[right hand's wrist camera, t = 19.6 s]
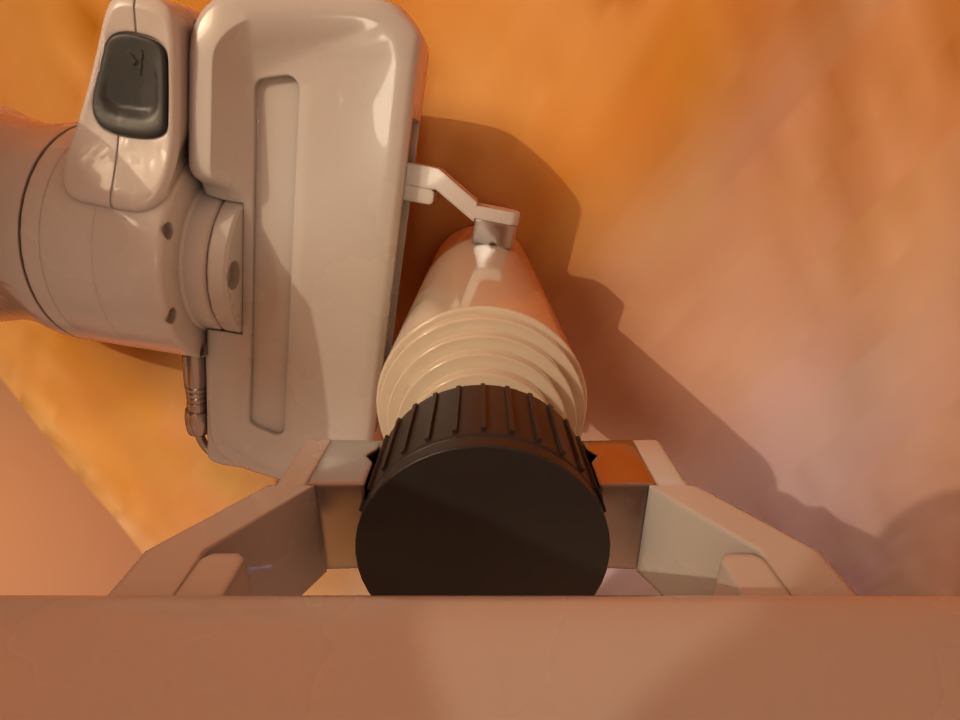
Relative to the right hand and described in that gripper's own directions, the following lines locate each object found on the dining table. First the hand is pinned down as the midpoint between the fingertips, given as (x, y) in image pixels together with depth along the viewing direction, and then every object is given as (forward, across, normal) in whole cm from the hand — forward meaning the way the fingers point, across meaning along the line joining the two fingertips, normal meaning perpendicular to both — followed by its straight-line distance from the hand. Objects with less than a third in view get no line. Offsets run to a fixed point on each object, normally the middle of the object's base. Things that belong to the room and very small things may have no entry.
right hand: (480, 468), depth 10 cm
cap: (-2, 0, 0) cm, 2 cm away
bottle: (+19, 0, 0) cm, 19 cm away
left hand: (+13, -1, 0) cm, 13 cm away
